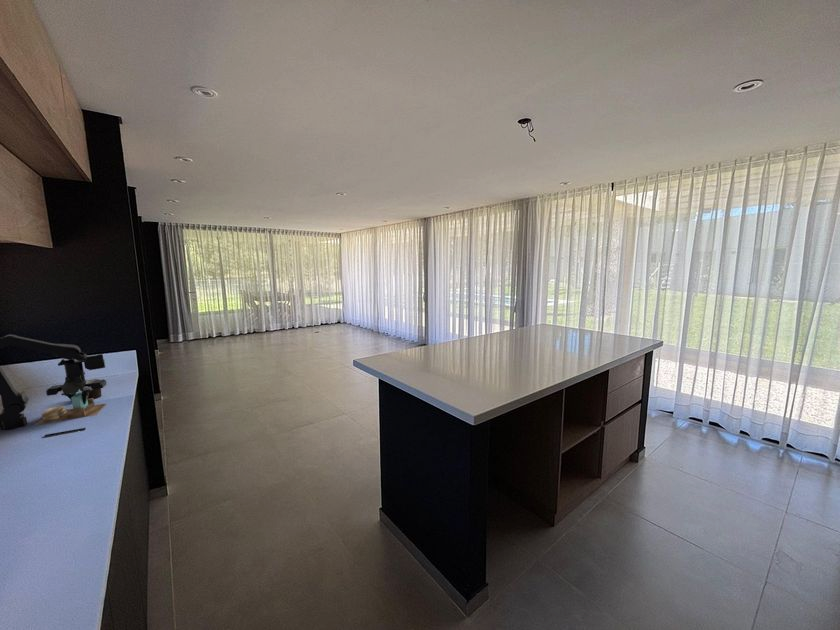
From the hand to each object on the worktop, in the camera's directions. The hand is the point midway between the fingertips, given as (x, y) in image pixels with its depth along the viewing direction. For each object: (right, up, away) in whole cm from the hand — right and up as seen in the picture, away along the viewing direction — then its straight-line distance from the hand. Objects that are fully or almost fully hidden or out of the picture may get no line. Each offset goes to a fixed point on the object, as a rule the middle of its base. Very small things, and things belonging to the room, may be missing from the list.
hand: (80, 404), depth 154 cm
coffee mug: (-10, -3, +16) cm, 19 cm away
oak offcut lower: (-8, -4, -4) cm, 10 cm away
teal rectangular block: (0, -4, +1) cm, 4 cm away
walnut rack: (-3, -5, -1) cm, 6 cm away
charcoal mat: (+7, -7, -11) cm, 15 cm away
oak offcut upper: (-8, -3, -4) cm, 10 cm away
